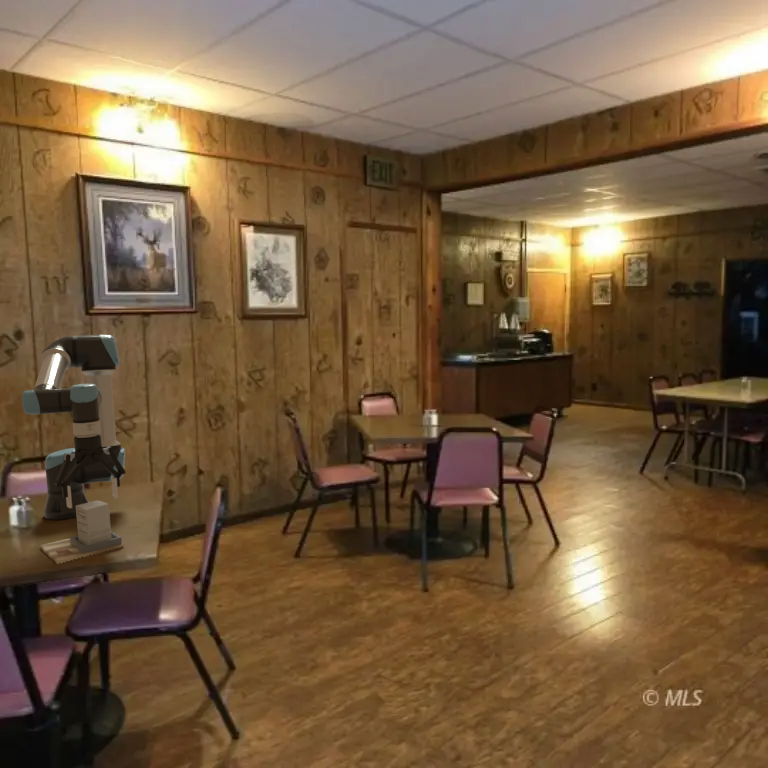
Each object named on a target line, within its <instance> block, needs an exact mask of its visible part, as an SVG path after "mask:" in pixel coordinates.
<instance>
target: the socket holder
mask: <svg viewBox="0 0 768 768" xmlns="http://www.w3.org/2000/svg"><path fill="white" fill-rule="evenodd" d="M111 537H112V539H109V540H105V541H101V542H97V543H93V544H89V545H85V546H83V545H82V544H81V543H80V542H79V539H78V535H75V536H72V537H70V544H71V545H72V546H74V547H75V548H76V549H77V550H79V551H80V552H81V553H82V554H83V553H87V552H91V551H95V550H99V549H103V548H107V547H111V546H115V545H118V544H123V541H122V537H121V536H120V535H119V534H117V533H116V532H114V531H112V530H111Z"/></svg>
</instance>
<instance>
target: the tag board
mask: <svg viewBox="0 0 768 768" xmlns="http://www.w3.org/2000/svg"><path fill="white" fill-rule="evenodd" d="M70 538H71V537H70ZM70 538H66V539H65V538H64V539H61V540H56V541H52V542H48V543H44V544H43V543H42V544H40V545H39V546H40V550H41V551H43V552H44V553H45V554H46V555H47V556H48V557H49V558H50V557H51V558H52V559H53V560H54V561H55V564H57V565H60V564H64V563H67V562H66V561H68V562H71V561H70V560H72V561H74V560H73V559H76V560H78V559H77V558H80V559H82V558H81V557H84V558H86V556H87V557H90V556H89V555H91V556H94V555H93V554H95V555H98V554H97V553H99V554H102V553H101V552H103V553H106V552H105V551H107V552H110V551H109V550H111V551H114V550H117V549H116V548H118V549H122V548H124V543H122V544H118V545H115V546H111V547H107V548H103V549H99V550H95V551H91V552H87V553H83V554H82V553H81V552H80V551H79V550H77V549H76V548H75V547H74V546H72V545H71V544H70ZM121 547H122V548H121ZM113 549H114V550H113ZM51 558H50V559H51ZM52 559H51V560H52ZM53 560H52V561H53ZM54 561H53V562H54ZM63 562H64V563H63ZM59 563H60V564H59Z"/></svg>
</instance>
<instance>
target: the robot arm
mask: <svg viewBox="0 0 768 768" xmlns="http://www.w3.org/2000/svg"><path fill="white" fill-rule="evenodd" d="M120 362H121V361H120V356H119V351H118V346H117V342H116V340H115V338H114V336H113V335H112V334H101V333H100V334H89V335H88V334H86V335H85V334H83V335H82V334H81V335H66V336H63V337H60V338H57V339H55V340H54V341H52V342H50V344H49V345H47V347H46V348H44V350H43V351H42V352H41V356H40V364H41V367H40V369H39V372H38V376H37V378H36V382H35V385H34V387H33V389H30V390H24V391H23V392H22V394H21V395H22V397H21V405H22V409H23V412H24V414H26V415H38V416H39V415H45V414H57V413H59V414H60V413H71V415H72V432H73V435H74V438H73V442H74V447H70V448H65V449H61V450H60V449H59V450H58V451H57V450H56V451H54V452H51V453H49V454H48V455H46V457H45V458H44V459H45V462H44V463H45V465H44V466H45V467H44V470H45V477H46V488H47V489H46V490H47V498H46V502H45V506H44V509H43V515H44V516H43V517H44V519H46V520H53V521H54V520H55V521H56V520H69V519H74V518H77V516H76V505H80V504H84V503H88V502H89V500H88V497H87V495H86V493H85V491H84V485H85V484H95V483H103V482H105V483H106V482H108V483H110V482H111V491H112V493H111V494H112V495H111V496H112V498H114V499H119V494H118V493H119V492H118V488H120V487H121V481H120V480H122V478H123V477H124V475H125V474H126V470H125V464H126V448H124V447H122V444H121V442H120V441H118V440H117V435H116V434H117V432H116V419H115V417H116V416H115V405H114V404H115V402H114V389H113V375H114V373H115V372H116V370H117V367H118V366H120V365H121V363H120ZM70 368H80V369H81V373H82V374H83V375H84V376H85V377H86V383H79V384H74V385H72V386H70V387H67V388H64V387H63V388H62V386H63V382H64V379H65V376H66V375H65V374H66V371H68V370H69V369H70Z"/></svg>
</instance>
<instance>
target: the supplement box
mask: <svg viewBox="0 0 768 768" xmlns="http://www.w3.org/2000/svg"><path fill="white" fill-rule="evenodd" d="M110 515H111V513H110V505H109V503H107V502H104V501H101V500H100V499H99V500H98V499H97V500H93V501H88V503H84V504H80V505H76V516H77V517H76V524H77V525H76V527H77V536H78V539H79V542H80V543H81V544H82V545H83V546H85V545H89V544H93V543H97V542H101V541H105V540H109V539H112V537H111V531H112V527H111V516H110Z"/></svg>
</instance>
